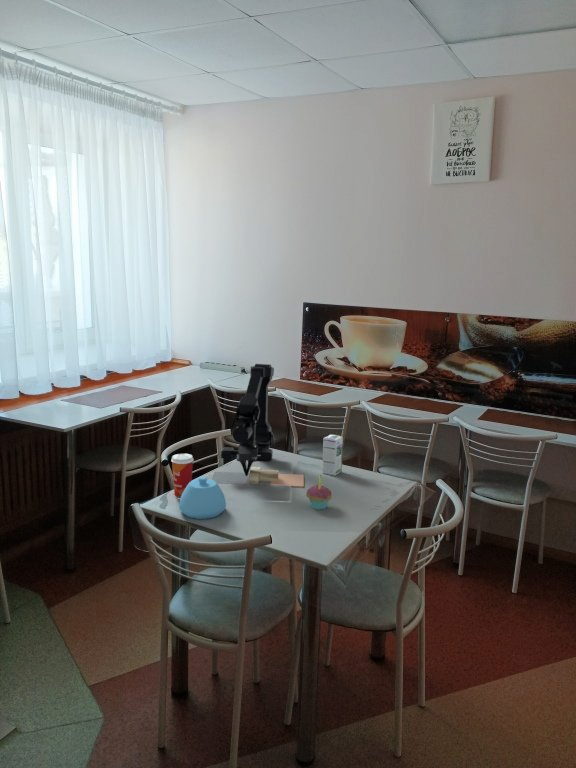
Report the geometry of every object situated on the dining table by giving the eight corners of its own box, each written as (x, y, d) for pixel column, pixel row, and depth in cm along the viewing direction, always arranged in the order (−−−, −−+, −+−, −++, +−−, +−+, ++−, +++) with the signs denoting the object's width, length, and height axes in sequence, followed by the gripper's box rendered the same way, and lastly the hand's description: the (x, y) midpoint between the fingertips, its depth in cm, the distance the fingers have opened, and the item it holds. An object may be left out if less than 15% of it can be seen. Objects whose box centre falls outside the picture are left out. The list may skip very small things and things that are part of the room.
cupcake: (332, 512, 207) (333, 477, 205) (306, 511, 207) (307, 477, 204) (330, 501, 215) (331, 468, 213) (305, 501, 215) (306, 468, 213)
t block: (251, 474, 239) (251, 466, 238) (278, 475, 238) (278, 467, 238) (248, 483, 229) (248, 475, 228) (277, 484, 229) (277, 476, 228)
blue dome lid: (185, 523, 195) (185, 488, 193) (175, 505, 209) (174, 472, 207) (231, 517, 201) (231, 483, 199) (218, 500, 215) (218, 467, 212)
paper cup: (170, 491, 220) (169, 453, 217) (192, 490, 223) (191, 452, 220) (173, 500, 213) (172, 460, 210) (195, 498, 215) (195, 459, 212)
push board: (214, 472, 240) (214, 471, 240) (303, 475, 240) (303, 474, 240) (210, 484, 228) (210, 483, 228) (303, 487, 228) (303, 486, 228)
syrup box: (335, 476, 240) (337, 439, 238) (321, 473, 243) (323, 437, 240) (341, 471, 245) (343, 436, 242) (328, 469, 248) (329, 433, 245)
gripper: (219, 440, 223) (218, 482, 226) (271, 442, 222) (270, 484, 226) (223, 431, 234) (222, 471, 237) (273, 434, 233) (272, 474, 237)
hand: (246, 475), depth 234 cm, fingers closed
